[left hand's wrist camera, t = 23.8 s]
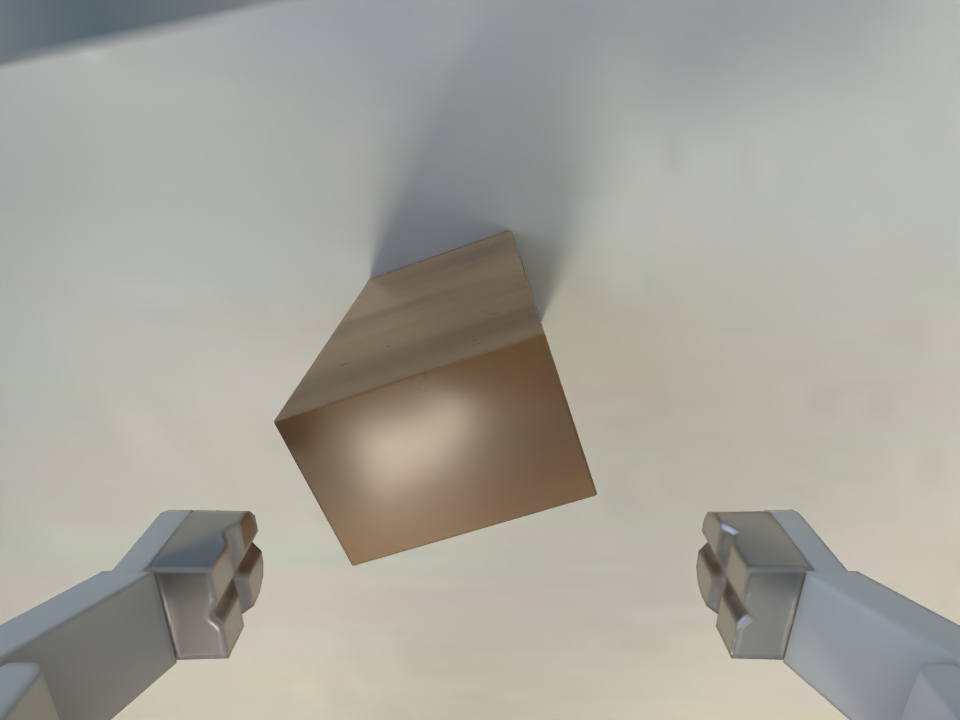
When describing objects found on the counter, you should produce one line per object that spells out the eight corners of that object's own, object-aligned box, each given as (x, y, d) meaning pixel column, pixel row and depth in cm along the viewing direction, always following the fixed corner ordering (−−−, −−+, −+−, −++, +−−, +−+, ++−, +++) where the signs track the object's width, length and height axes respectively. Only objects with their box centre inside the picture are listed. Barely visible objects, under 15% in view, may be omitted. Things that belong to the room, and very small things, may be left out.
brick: (541, 324, 24) (597, 495, 13) (407, 368, 25) (352, 567, 14) (510, 229, 22) (544, 331, 11) (369, 279, 23) (272, 421, 12)
